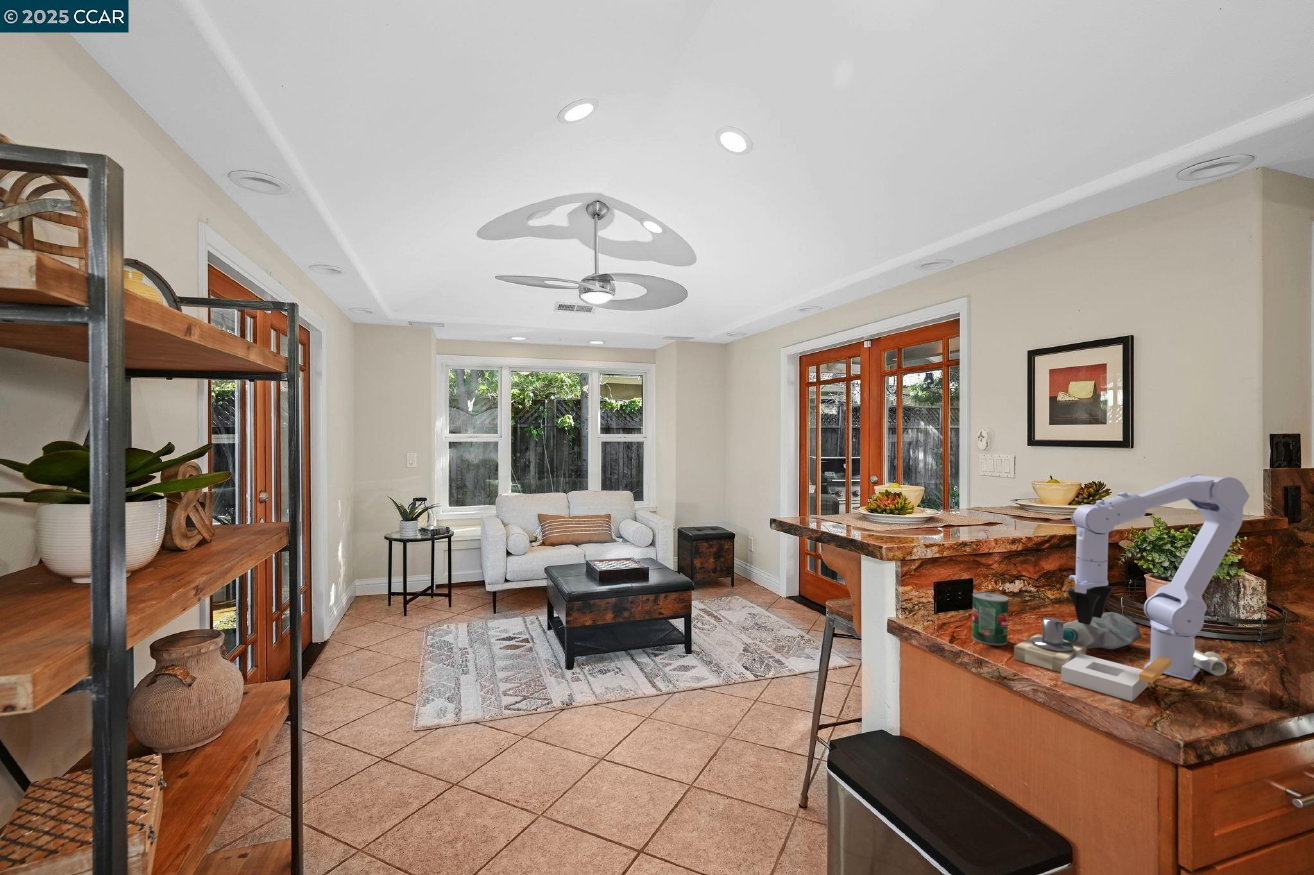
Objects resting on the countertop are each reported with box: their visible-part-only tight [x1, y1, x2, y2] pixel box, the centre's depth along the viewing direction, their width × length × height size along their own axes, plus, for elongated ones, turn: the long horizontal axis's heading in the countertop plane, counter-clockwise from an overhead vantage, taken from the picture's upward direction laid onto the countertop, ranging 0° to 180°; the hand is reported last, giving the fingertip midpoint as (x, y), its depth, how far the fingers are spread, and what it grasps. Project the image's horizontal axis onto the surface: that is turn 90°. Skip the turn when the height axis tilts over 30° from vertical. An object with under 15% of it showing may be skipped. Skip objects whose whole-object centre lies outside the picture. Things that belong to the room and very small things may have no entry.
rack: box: [1013, 633, 1087, 673], centre depth 139 cm, size 14×10×3 cm
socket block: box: [1060, 654, 1149, 702], centre depth 126 cm, size 12×12×3 cm
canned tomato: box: [971, 591, 1009, 646], centre depth 151 cm, size 8×8×11 cm
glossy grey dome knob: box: [1032, 617, 1073, 652], centre depth 139 cm, size 8×8×9 cm
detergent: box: [1063, 611, 1143, 650], centre depth 147 cm, size 13×7×25 cm
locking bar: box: [1139, 656, 1171, 684], centre depth 122 cm, size 15×2×1 cm, turn 129°
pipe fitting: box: [1194, 648, 1228, 677], centre depth 135 cm, size 8×4×7 cm
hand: (1089, 620), depth 135 cm, fingers open, 7 cm apart
